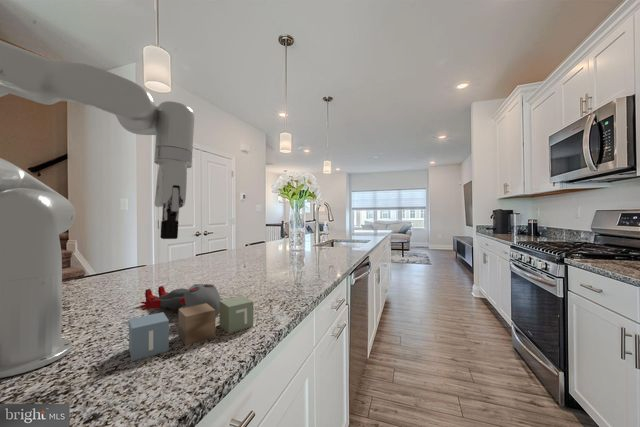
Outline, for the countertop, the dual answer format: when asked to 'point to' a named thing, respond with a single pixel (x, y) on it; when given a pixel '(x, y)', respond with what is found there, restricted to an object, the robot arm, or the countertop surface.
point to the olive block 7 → (235, 313)
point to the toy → (183, 297)
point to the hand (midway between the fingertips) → (168, 238)
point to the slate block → (148, 335)
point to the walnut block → (196, 323)
